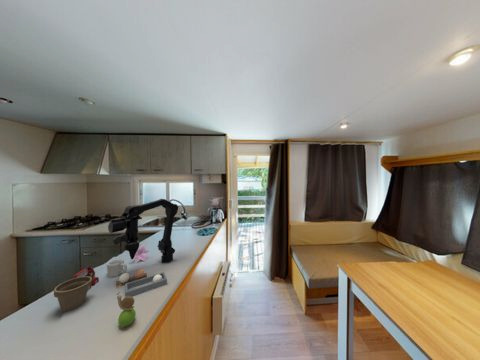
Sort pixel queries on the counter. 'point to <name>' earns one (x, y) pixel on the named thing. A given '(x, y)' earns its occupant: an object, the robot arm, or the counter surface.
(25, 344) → the counter surface
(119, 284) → the rack
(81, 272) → the toy fire truck
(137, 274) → the ball terracotta
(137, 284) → the trough
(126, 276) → the ball ivory rack
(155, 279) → the ball ivory trough
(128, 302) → the snail figurine
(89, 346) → the counter surface
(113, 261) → the cup
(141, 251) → the lily
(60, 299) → the flower pot
